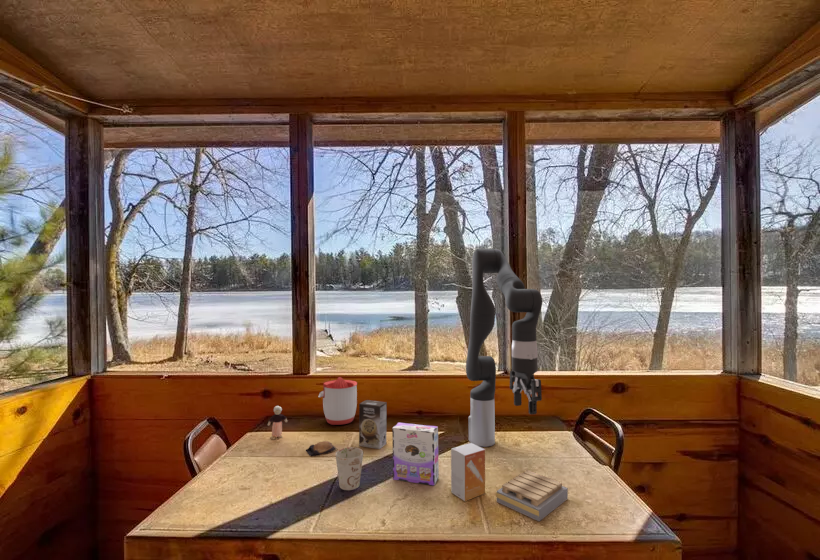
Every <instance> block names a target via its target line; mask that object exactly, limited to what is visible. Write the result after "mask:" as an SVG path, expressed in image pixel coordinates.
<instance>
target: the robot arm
mask: <svg viewBox="0 0 820 560" xmlns="http://www.w3.org/2000/svg"><path fill="white" fill-rule="evenodd" d="M471 258H472V259H471V270H472V271H471V273H472V274H471V275H472V276H471V277H472V278H471V280H472V281H471V282H472V283H471V284H472V287H471V290H472V291H471V304H470V315H469V339H468V346H467V347H468V348H467V354H466V355H467V356H466V360H465V361H466V363H465V373H466V377H467V379H468V380H469V381H471V382H472V381H473V382H478V381H482V382H481V383H480V384H479V385H477V386H475V387H473V388H472V389H470V395H469V398H470V401H469V402H470V415H469V416H468V441H469V443H473V444H475V445H477V446H479V447H481V448H483V447H491V446H492V447H493V446H494V445H495V444H496V429H495V427H496V425H495V424H496V423H495V420H496V419H495V418H496V417H495V416H496V415H495V410H496V409H495V393H496V379H497V378H496V377H497V365H496V361H495V359H494V358H493V356H490V355H480V350H481V348H482V346H483V344H484V342H485V340H486V339H488V337H489V335H490V334H491V332H492V330H493V329H494V327H495V321H496V307H495V303H494V302H493V300H492V298H491V297H490V295H489V293H488V291H487V288H486V287H485V283H484V274H497V275H496V278H495V279H496V280H495V283H496V286H497V288H498V289H499V291H501V293H502V294H503V296H504V300H505V305H506V307H507V310H509V311H510V312H513V313H526V314H525V316H524V317H523V318H522V319H518V320H514V321H513V322H512V325H511V330H512V331H511V334H512V335H511V336H512V337H511V340H512V342H511V370H510V371H509V390H512V393H513V405H514V406H515V407H517V406H518V407H519V406H522V401H523V400H522V391H523V392H524V395H526V397H527V398H528V414H529V415H532V416H533V415H536V414H538V413H537V412H538V411H537V410H538V409H537V406H538V404H537V402H538V401H539V402H540V401H542V399H543V397H542V380H541V379H535V373H537V372H538V371H539V368H538V365H539V364H538V355H539V354H538V352H539V351H538V343H537V342H538V341H537V327H538V326H537V325H538V323H539V322H538V321H539V317H540V314H541V310H542V306H543V297H542V294H541V292H540V291H539V290H538V289H535V288H526V287H525V284H524V282H523V281H522V280H521V279H520V277H518V275H517V274H516V273H515V272H514V271H513V269H512V267H511V265H510V263H509V262H508V260H507V258H506V256H505V254H504V253H503V251H501V250H500V249H499V248H475V250H474V251H473V254H472V257H471Z"/></svg>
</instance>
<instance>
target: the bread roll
mask: <svg viewBox="0 0 820 560" xmlns="http://www.w3.org/2000/svg"><path fill="white" fill-rule="evenodd" d="M338 450H339V448H337V447H336V446H334V445H333V443H332V442H330V441H328V440H323V441H318V442H317V443H315V444H310V446H309V447H308V448H306V449H305V452H306V453H307V455H308V456H310V457H318V456H323V455H326V454H330V453H334V452H337V451H338Z"/></svg>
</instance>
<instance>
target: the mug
mask: <svg viewBox="0 0 820 560" xmlns="http://www.w3.org/2000/svg"><path fill="white" fill-rule="evenodd" d="M363 457H364V450H363V449H361V448H359V447H353V446H350V447H349V446H348V447H344V448H340V449H338V450H337V451H335V461H336V462H335V463H336V469H337V477H338V486H339V488H340V489H341V490H344V491H352V490H353V491H354V490H356V489H357V488H359V486H360V484H361V483H360V482H361V475H362V467H363V466H362V465H363Z"/></svg>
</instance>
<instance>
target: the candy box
mask: <svg viewBox="0 0 820 560" xmlns="http://www.w3.org/2000/svg"><path fill="white" fill-rule="evenodd" d="M391 432H392V433H391V434H392V439H391V440H392V480H395V481H401V482H408V483H415V484H421V485H429V486H435V485H436V483H437V481H438V480H439V478H440V477H439V475H440V474H439V471H440V470H439V464H440V463H439V426H436V425H428V424H426V425H425V424H424V425H423V424H415V423H407V422H397V423H396V424H395V425H394V426H393V427H392V429H391Z"/></svg>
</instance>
